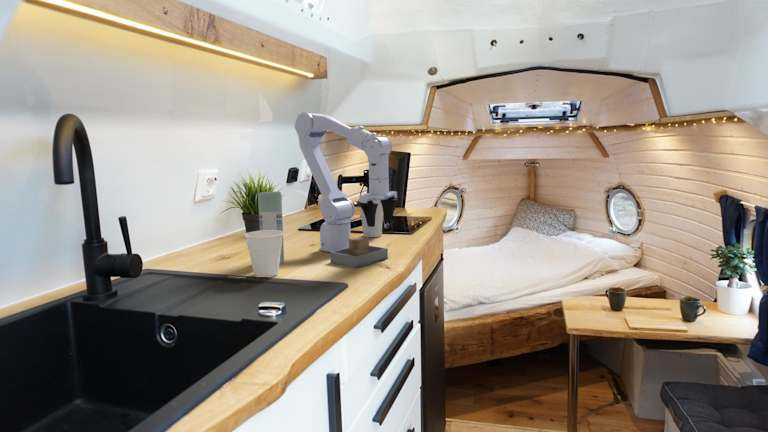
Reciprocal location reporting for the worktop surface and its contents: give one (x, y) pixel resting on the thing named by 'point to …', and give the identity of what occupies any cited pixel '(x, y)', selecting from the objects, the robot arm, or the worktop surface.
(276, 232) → the cup
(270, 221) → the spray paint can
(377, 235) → the coffee cup
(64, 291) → the worktop surface
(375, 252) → the bin
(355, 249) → the walnut block
